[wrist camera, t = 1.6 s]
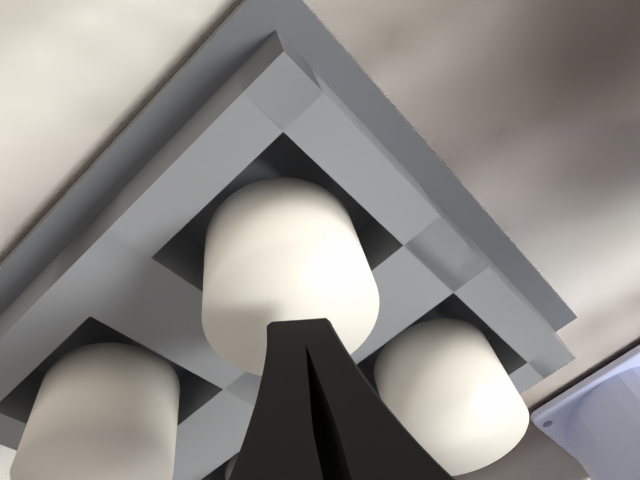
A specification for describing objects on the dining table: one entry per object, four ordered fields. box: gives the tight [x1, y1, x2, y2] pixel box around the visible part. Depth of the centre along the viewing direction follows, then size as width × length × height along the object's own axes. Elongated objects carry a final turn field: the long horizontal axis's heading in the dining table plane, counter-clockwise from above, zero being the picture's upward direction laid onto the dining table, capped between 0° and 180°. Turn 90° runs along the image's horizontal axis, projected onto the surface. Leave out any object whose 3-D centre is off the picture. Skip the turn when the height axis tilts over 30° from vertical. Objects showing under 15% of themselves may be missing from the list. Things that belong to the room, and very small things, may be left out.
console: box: [0, 0, 577, 480], centre depth 20 cm, size 18×18×3 cm
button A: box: [374, 318, 529, 476], centre depth 18 cm, size 4×4×3 cm
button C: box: [202, 177, 379, 376], centre depth 14 cm, size 4×4×3 cm
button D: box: [10, 343, 180, 480], centre depth 17 cm, size 4×4×3 cm
